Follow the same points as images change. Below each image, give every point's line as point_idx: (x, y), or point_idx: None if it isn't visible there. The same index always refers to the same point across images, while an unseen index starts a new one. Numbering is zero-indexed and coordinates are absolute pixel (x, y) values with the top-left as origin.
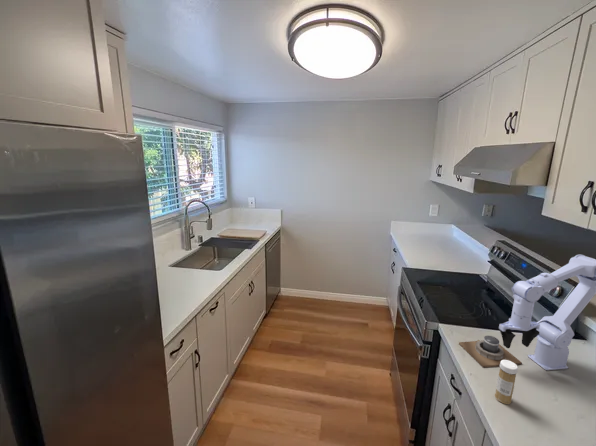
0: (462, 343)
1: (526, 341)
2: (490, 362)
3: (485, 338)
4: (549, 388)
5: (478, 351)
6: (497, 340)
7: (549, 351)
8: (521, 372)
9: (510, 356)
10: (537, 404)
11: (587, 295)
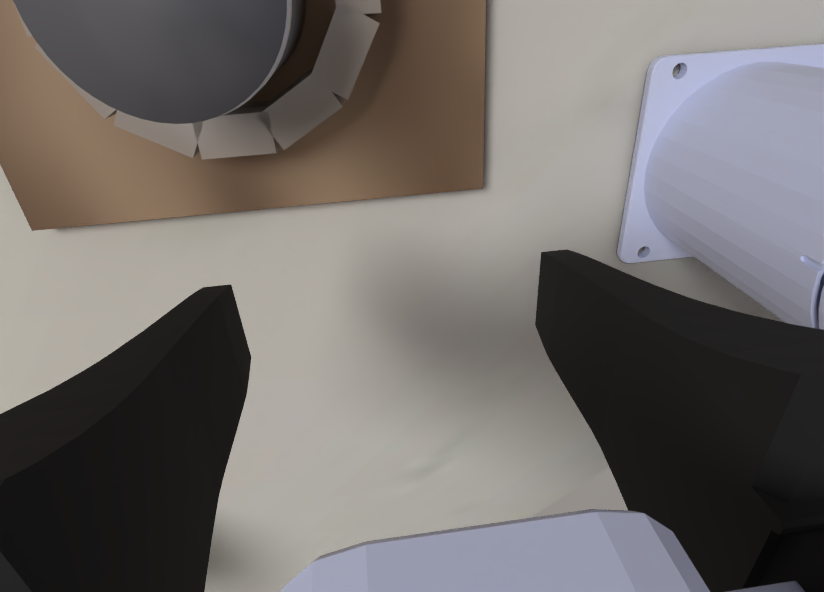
0: None
1: (572, 355)
2: (139, 184)
3: None
4: (466, 407)
5: None
6: (252, 33)
7: (777, 315)
8: (392, 277)
9: (439, 87)
10: (284, 505)
11: None
